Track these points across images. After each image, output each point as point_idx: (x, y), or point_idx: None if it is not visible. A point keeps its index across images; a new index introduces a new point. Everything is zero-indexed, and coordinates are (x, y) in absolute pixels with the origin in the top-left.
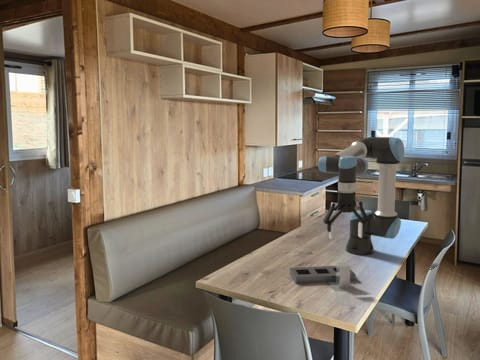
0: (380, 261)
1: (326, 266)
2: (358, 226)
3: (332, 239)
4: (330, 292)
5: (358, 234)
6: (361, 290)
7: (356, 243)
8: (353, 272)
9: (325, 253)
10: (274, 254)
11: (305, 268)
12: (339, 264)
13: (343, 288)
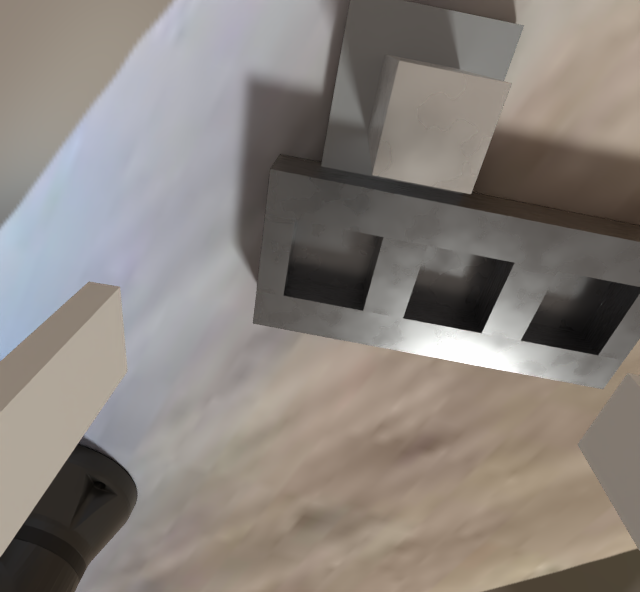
0: None
1: (381, 342)
2: (13, 530)
3: (629, 374)
4: (528, 66)
5: (110, 380)
6: (301, 28)
7: (77, 511)
8: (266, 209)
9: (243, 500)
10: (465, 547)
11: (524, 354)
12: (473, 147)
13: (432, 59)
